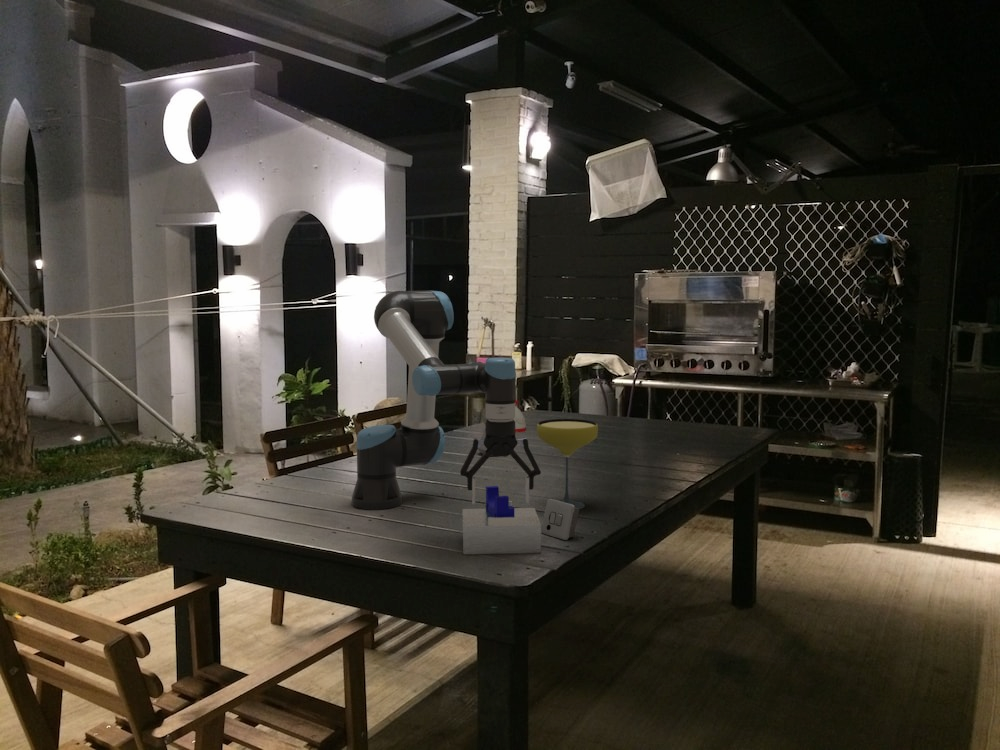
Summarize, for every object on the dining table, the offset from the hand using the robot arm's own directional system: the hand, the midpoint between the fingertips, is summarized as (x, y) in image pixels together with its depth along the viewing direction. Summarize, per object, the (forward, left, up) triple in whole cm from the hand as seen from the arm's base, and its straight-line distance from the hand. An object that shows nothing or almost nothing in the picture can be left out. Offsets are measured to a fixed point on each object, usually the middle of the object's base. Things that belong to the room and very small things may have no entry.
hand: (500, 502), depth 206 cm
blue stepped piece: (0, 0, -3) cm, 3 cm away
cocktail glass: (+22, +36, -11) cm, 43 cm away
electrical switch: (+16, +6, -11) cm, 20 cm away
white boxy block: (0, 0, -11) cm, 11 cm away
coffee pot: (+6, +118, -11) cm, 119 cm away
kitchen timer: (+15, +170, -11) cm, 172 cm away
